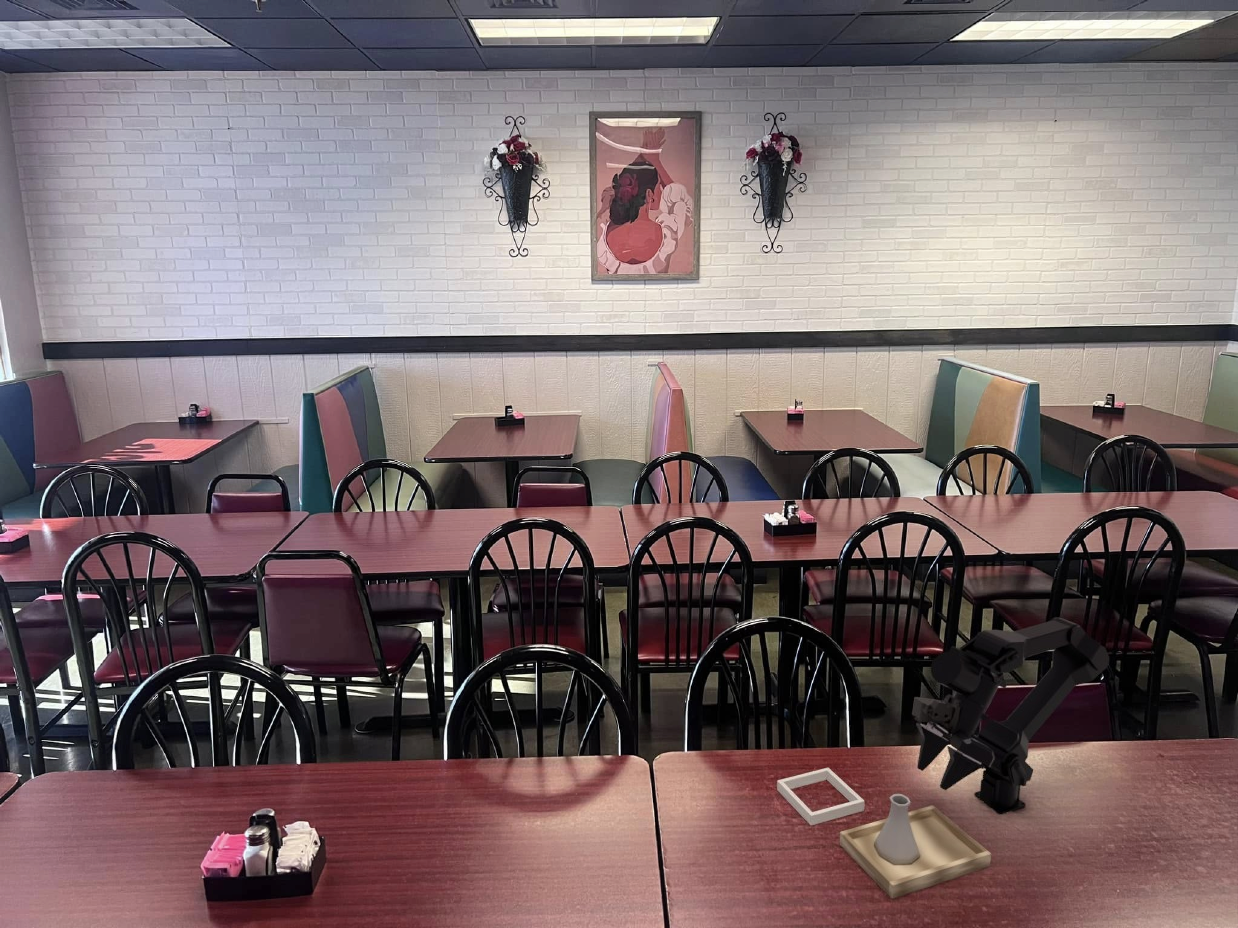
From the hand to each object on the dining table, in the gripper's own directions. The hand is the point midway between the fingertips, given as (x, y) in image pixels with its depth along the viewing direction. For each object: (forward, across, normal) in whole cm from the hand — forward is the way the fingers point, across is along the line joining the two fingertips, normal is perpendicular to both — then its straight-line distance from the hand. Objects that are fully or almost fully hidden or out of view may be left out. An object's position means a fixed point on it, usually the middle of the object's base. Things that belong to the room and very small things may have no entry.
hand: (930, 778), depth 145 cm
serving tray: (+12, +4, +1) cm, 13 cm away
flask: (+13, +4, -2) cm, 14 cm away
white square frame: (+15, -12, -10) cm, 22 cm away
